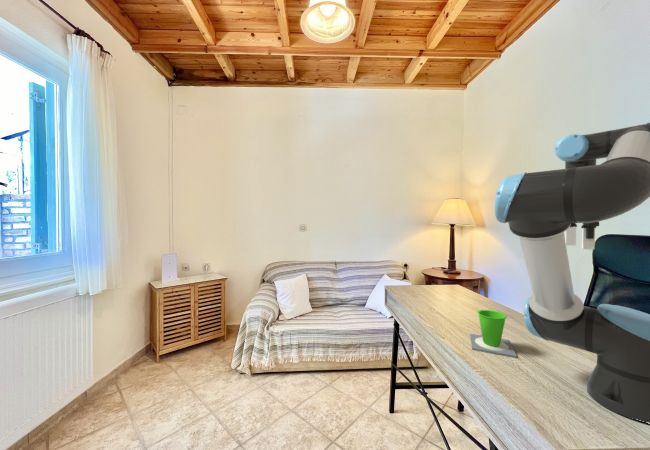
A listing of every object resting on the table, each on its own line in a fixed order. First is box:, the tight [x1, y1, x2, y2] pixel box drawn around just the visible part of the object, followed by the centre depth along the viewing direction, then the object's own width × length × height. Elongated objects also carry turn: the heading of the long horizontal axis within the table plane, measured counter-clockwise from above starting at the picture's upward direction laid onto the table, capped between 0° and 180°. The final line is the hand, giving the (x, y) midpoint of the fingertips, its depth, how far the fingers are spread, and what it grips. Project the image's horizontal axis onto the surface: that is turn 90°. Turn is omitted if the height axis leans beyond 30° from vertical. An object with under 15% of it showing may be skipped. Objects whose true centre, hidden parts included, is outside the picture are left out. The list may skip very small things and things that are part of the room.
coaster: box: [469, 333, 518, 359], centre depth 97 cm, size 13×13×1 cm
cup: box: [476, 309, 508, 347], centre depth 97 cm, size 9×9×11 cm
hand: (578, 247), depth 89 cm, fingers open, 13 cm apart
